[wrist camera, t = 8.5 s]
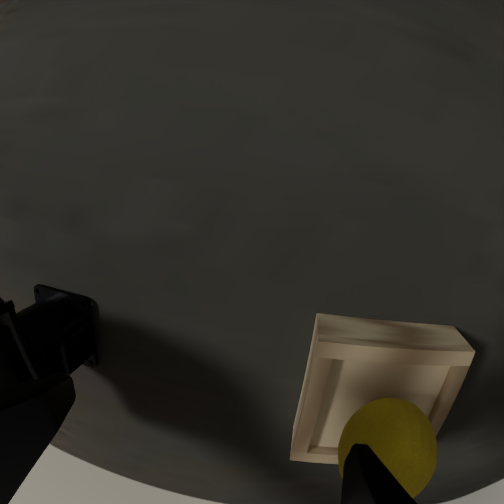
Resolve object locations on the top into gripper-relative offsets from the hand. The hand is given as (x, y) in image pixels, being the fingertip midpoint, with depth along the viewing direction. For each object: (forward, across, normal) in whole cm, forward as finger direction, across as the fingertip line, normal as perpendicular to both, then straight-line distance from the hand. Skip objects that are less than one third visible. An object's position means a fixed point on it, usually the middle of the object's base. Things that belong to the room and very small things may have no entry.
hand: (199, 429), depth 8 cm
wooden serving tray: (+12, -9, +6) cm, 17 cm away
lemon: (+10, -9, +6) cm, 14 cm away
